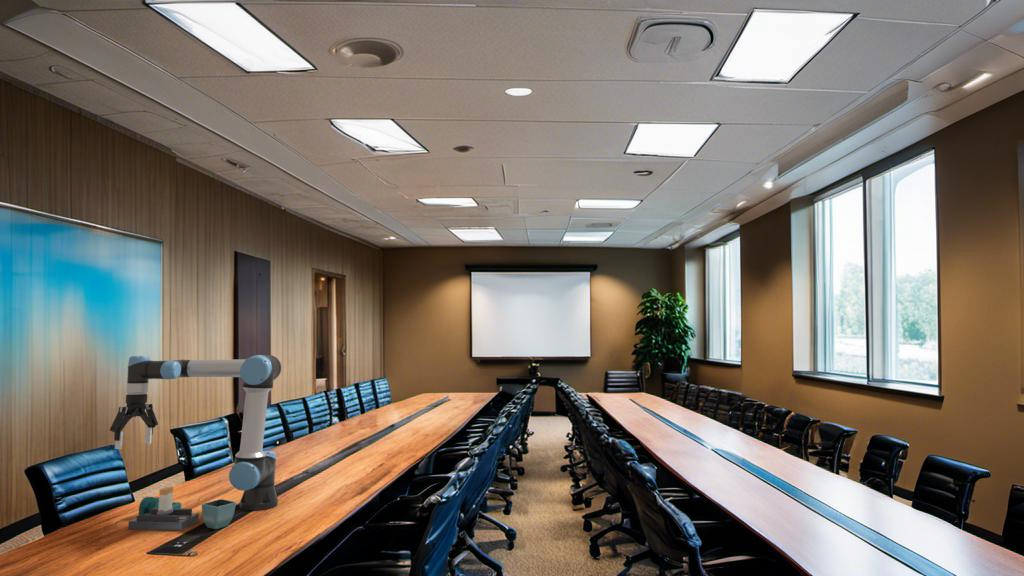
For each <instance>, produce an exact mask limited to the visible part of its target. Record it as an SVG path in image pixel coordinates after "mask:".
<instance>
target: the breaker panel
mask: <svg viewBox="0 0 1024 576" xmlns="http://www.w3.org/2000/svg"><path fill="white" fill-rule="evenodd" d="M143 515H156V514H151V512H148V513H145V514H143ZM169 515H174V514H169ZM199 517H200V513H198V512H192V514H190V515H179V520H178V521H177V522H172V521H136V519H137V517H135V518H132V519H130V520H128V523H127V529H128V530H135V529H136V531H138V530H140V531H143V530H144V531H183V530H185V529H187V528H188V527H190V525H191V526H193V525H194V524H196V523H198V522H199V521H200V520H199Z"/></svg>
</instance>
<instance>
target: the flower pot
mask: <svg viewBox="0 0 1024 576" xmlns="http://www.w3.org/2000/svg"><path fill="white" fill-rule="evenodd" d="M236 504H237V501H234V500H227V499H222V498H220V499H215V500H213V501H209V502H204V503H202V504H201V512H202V513H201V514H202V520H203V522H204V524H205V526H206V527H207V528H210V529H212V530H213V529H214V530H219V529H221V528H225V527H227V526H229V524H230V523H231V522H232V519H233V518H234V514H235V510H236Z"/></svg>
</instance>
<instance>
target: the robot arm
mask: <svg viewBox="0 0 1024 576" xmlns="http://www.w3.org/2000/svg"><path fill="white" fill-rule="evenodd" d="M127 363H128V364H127V379H126V381H127V382H126V391H125V393H126V394H125V403H126V406H119V407H118V411H117V413H116V416H115V418H114V420H113V421H112V424H111V427H110V429H109V431H110V432H113V433H114V440H113V441H115V444H114V449H116V450H123V437H124V436H123V435H124V432H123V429H125V427H126V426H127V424H128V423H129V422H130V420H131V419H133V418H136V417H140V418H141V420H142V421H143V422H144V424H145V426H146V427H145V431H144V432H145V434H144V445H145V444H146V445H152V438H153V437H152V436H153V434H154V428H156V427H157V426H158V425H159V422H158V420H157V417H156V414H155V412H154V410H153V409H154V408H153V407H154V406H153V403H147V402H148V394H147V393H148V391H149V380H167V381H169V380H176V379H178V378H241V379H242V389H243V390H244V392H245V397H244V398H245V399H244V407H243V408H244V409H243V415H242V417H243V419H242V427H241V436H240V444H239V445H240V446H239V451H237V452H236V454H235V456H234V463H233V466H232V467H231V469H230V470H229V473H228V479H229V480H228V481H229V483H230V485H232V487H234V488H235V489H236V490H238V491H242V496H241V498H240V501H239V509H240V510H243V511H244V510H245V511H264V510H269V509H272V508H275V507H277V506H278V505H279V498H278V495H277V492H276V488H275V480H276V464H277V463H276V461H277V457H276V456H277V454H276V452H275V451H272V450H271V451H269V450H266V451H265V450H263V448H264V438H265V431H266V430H265V429H266V418H267V409H268V408H267V407H268V399H269V393H270V391H272V389H273V387H274V381H275V380H276V379H277V378H279V376H280V374H281V372H282V363H281V361H280V360H279V358H277V357H276V356H274V355H271V354H258V355H257V354H256V355H253V356H250V357H248V358H246V359H245V358H244V359H243V358H242V359H175V360H174V359H173V360H172V359H171V360H151V358H150V356H149V355H130V356H129V358H128V362H127Z"/></svg>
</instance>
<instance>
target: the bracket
mask: <svg viewBox="0 0 1024 576" xmlns="http://www.w3.org/2000/svg"><path fill="white" fill-rule="evenodd" d="M172 507H173V508H178V509H182V503H181V502H178V501H175V502H173V501H172ZM153 508H159V496H156V497H154V496H145V497H143V498H142V499H141V501H140V503H139V507H138V515H143V514H145V513H148V512H151V509H153Z"/></svg>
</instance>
